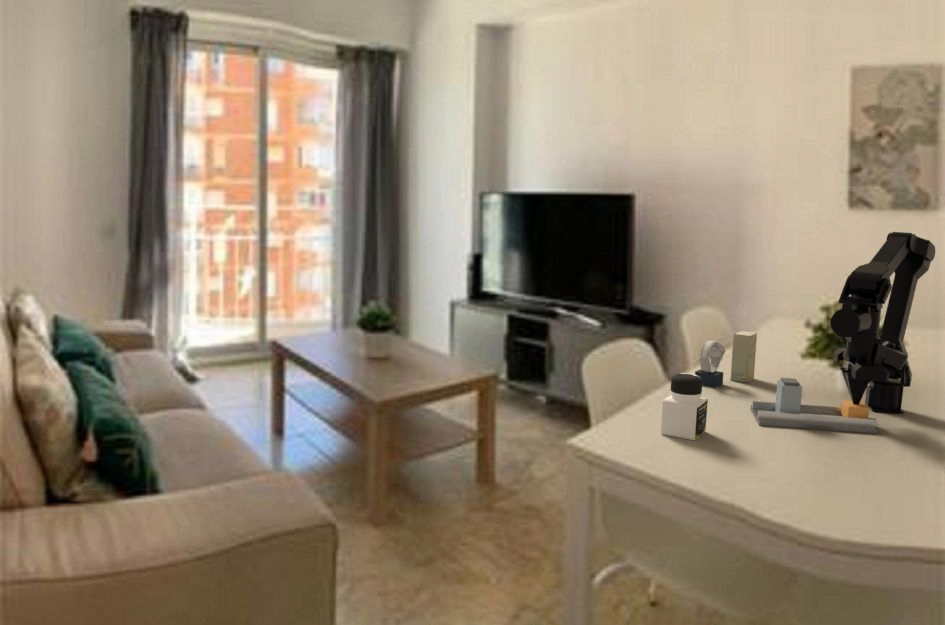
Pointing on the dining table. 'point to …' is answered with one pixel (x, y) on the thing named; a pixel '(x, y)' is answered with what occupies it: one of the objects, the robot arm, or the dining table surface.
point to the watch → (711, 364)
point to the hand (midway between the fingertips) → (855, 404)
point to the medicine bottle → (684, 408)
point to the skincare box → (743, 356)
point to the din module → (788, 396)
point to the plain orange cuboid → (854, 409)
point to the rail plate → (812, 418)
